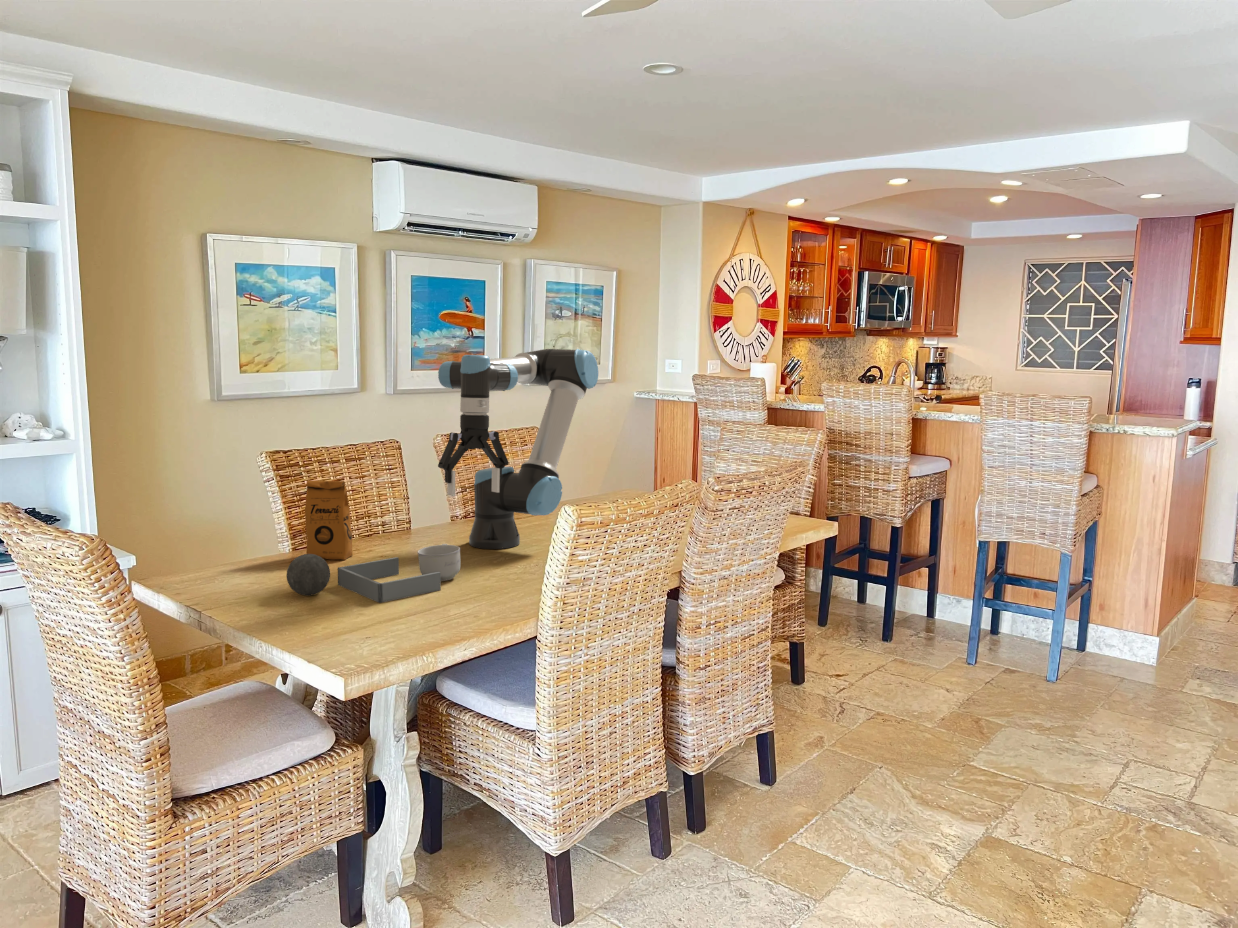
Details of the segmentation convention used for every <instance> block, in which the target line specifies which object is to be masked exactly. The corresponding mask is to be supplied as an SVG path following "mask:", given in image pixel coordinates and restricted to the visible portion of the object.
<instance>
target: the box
mask: <svg viewBox="0 0 1238 928" xmlns="http://www.w3.org/2000/svg"><path fill="white" fill-rule="evenodd" d="M399 561H400V559H399V556H396V557H395V556H394V557H391V558H389V557H388V558H384V559H383V558H382V559H379V560H373V561H367V562H362V563H355V564H352V565H351V564H349V565H345V566H340V567H339V566H338V567H337V586H340V587H342V588H343V589H347V590H349V591H350V592H354V593H355V594H358V595H360V596H362V597H364V598H365V597H366V598H367V599H370V600H372V601H374V602H377V603H379V604H381V603H386V602H390V601H395V600H401V599H405V598H410V597H414V596H420V595H423V594H429V593H433V592H439V591H441V587H442V586H441V584H442V583H441V582H442V581H441V574H440V572H435V573H430V574H425V575H422V574H421V575H415V576H411V577H410V576H409V577H405V578H400V579H394V580H390V581H385V582H378V581H376V579H383V578H387V577H393V576H398V575H399V574H400V567H399V566H400V565H399V563H400V562H399Z"/></svg>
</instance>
